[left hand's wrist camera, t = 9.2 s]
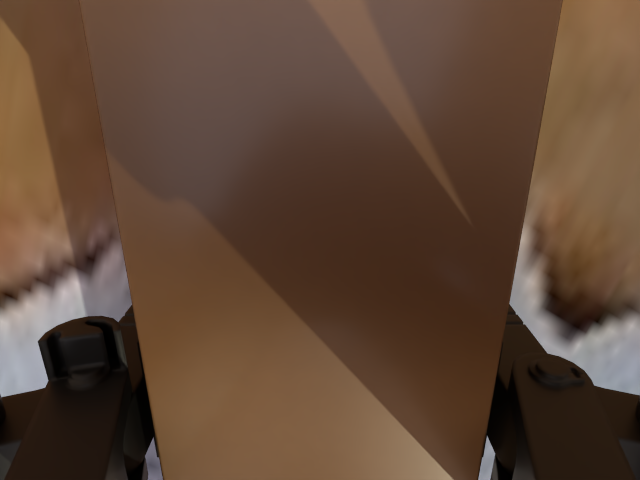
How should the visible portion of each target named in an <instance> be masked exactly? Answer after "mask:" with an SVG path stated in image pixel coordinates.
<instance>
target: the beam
mask: <svg viewBox="0 0 640 480" xmlns="http://www.w3.org/2000/svg"><path fill="white" fill-rule="evenodd" d="M562 2H563V0H79V4H80V9H81V15H82V21H83V27H84V32H85V38H86V44H87V49H88V55H89V61H90V66H91V72H92V78H93V83H94V89H95V95H96V100H97V106H98V112H99V118H100V123H101V129H102V135H103V140H104V146H105V152H106V157H107V163H108V169H109V174H110V180H111V186H112V192H113V197H114V203H115V209H116V214H117V220H118V226H119V231H120V237H121V243H122V248H123V254H124V260H125V265H126V271H127V277H128V283H129V288H130V294H131V300H132V305H133V311H134V317H135V322H136V328H137V334H138V339H139V345H140V351H141V357H142V362H143V368H144V374H145V379H146V385H147V391H148V396H149V402H150V408H151V413H152V419H153V425H154V430H155V436H156V442H157V448H158V453H159V459H160V465H161V470H162V476H163V480H478V477H479V471H480V466H481V460H482V455H483V449H484V443H485V438H486V432H487V426H488V421H489V415H490V409H491V404H492V398H493V392H494V387H495V381H496V375H497V370H498V364H499V358H500V353H501V347H502V341H503V336H504V330H505V324H506V319H507V313H508V307H509V302H510V296H511V290H512V285H513V279H514V273H515V268H516V262H517V256H518V251H519V245H520V239H521V234H522V228H523V222H524V217H525V211H526V205H527V200H528V194H529V188H530V183H531V177H532V171H533V166H534V160H535V154H536V149H537V143H538V137H539V132H540V126H541V120H542V115H543V109H544V103H545V98H546V92H547V86H548V81H549V75H550V70H551V64H552V58H553V53H554V47H555V41H556V36H557V30H558V24H559V19H560V13H561V7H562Z"/></svg>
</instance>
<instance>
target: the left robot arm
mask: <svg viewBox="0 0 640 480" xmlns="http://www.w3.org/2000/svg"><path fill="white" fill-rule="evenodd" d="M515 313H516V312H515V311H514V310H513V308H512V307H511V306H510V305H509V307H508V313H507V319H506V324H505V330H504V336H503V341H502V347H501V353H500V358H499V364H498V370H497V375H496V381H495V387H494V392H493V398H492V404H491V409H490V415H489V421H488V426H487V432H486V438H487V436H488V438H489V440H490V443H491V445H492V447H493V449H494V452H495V459H494V464H493V469H492V474H491V479H490V480H640V396H639V395H634V394H629V393H624V392H619V391H615V390H610V389H605V388H601V387H597V386H594V385H593V382H592V380H591V379H590V378H589V376H588V375H587V374H586V372H585V371H584V370H583V369H581V368H580V367H578V366H577V365H576V364H574V363H573V362H570V361H568V360H566V359H564V358H561V357H559V356H555V355H551V354H547V352H546V351H545V350H544V349H543V347H542V346H541V345H540V343H539V342H538V341H537V339H536V338H535V337H534V336H533V334H532V333H531V332H530V330H529V329H528V328H527V327H526V325H523V321H522V320H521V319H520V318H519V316H518V315H516V314H515ZM38 344H39V347H40V351H41V355H42V358H43V362H44V366H45V369H46V373H47V377H48V380H49V381H48V383H47V385H46V388H43V389H39V390H35V391H30V392H25V393H21V394H16V395H11V396H6V397H1V395H0V480H148V470H147V464H146V459H145V455H146V452H147V450H148V448H149V446H150V443H151V441H152V439H153V437H154V442H155V447H156V453H157V457H159V453H158V448H157V442H156V436H155V430H154V425H153V419H152V413H151V408H150V402H149V396H148V391H147V385H146V379H145V374H144V368H143V362H142V357H141V351H140V345H139V339H138V334H137V328H136V322H135V317H134V311H133V305H131V307H130V308H129V309H128V311H127V312H126V313H125V316H123V317H122V319H121V320H120V321H119V322H117V321H116V320H115V319H113V318H109V317H104V316H88V317H83V318H78V319H74V320H71V321H68V322H65V323H63V324H60V325H58V326H56V327H54V328H53V329H51V330H49V331H48V332H46V333H45V334H44V335H43V336H42V337H41V338H40V340H39V341H38ZM486 438H485V443H486ZM485 443H484V449H485ZM484 449H483V455H484ZM483 455H482V457H483Z"/></svg>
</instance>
